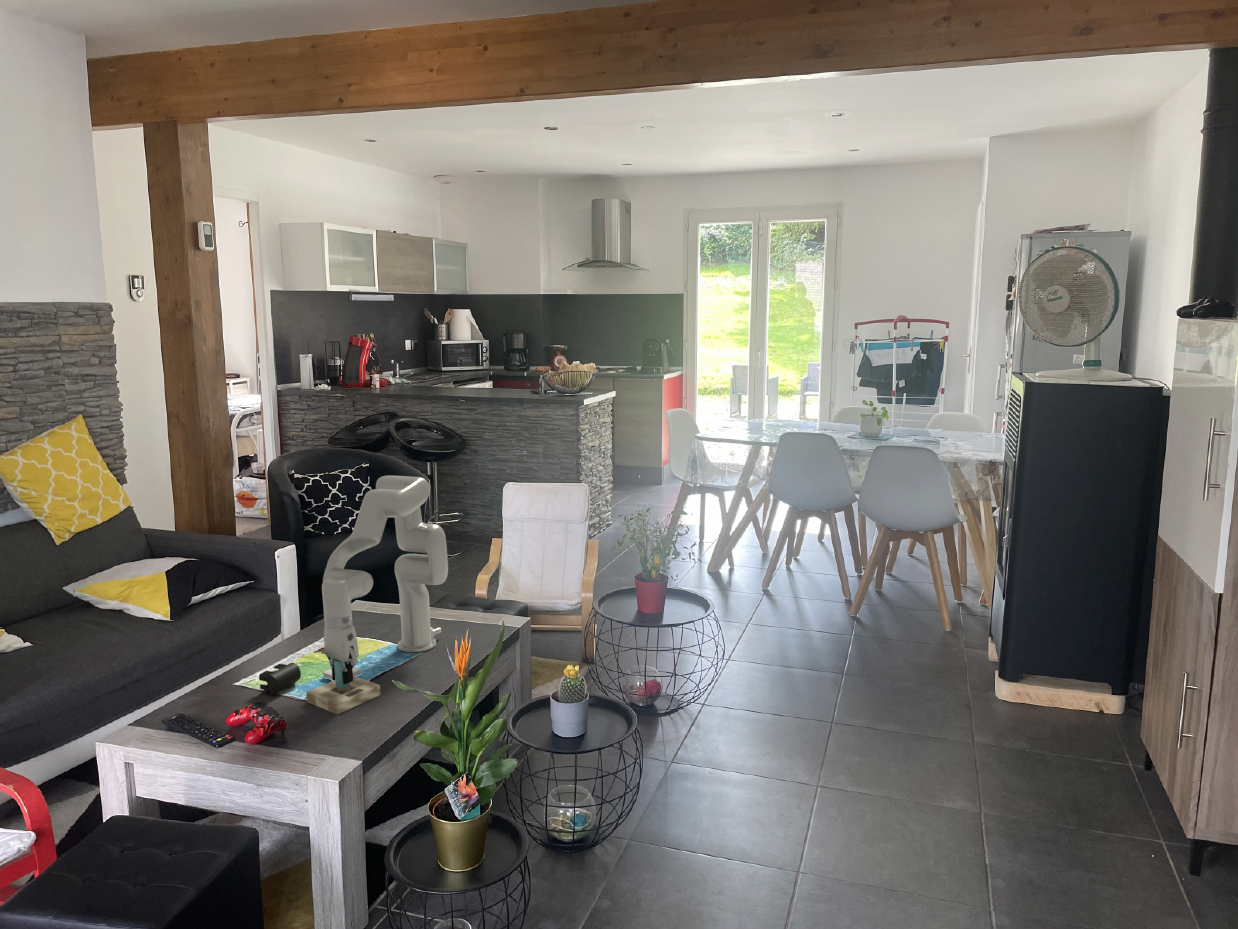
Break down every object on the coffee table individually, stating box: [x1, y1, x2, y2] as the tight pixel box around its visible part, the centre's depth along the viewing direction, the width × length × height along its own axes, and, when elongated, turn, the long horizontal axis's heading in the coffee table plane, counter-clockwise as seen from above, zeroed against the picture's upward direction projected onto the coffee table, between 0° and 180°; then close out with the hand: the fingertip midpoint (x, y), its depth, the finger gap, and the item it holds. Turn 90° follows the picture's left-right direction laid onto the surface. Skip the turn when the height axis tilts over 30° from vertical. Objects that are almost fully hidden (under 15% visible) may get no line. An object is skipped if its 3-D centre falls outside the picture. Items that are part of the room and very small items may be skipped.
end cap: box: [258, 662, 302, 697], centre depth 260 cm, size 10×7×7 cm
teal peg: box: [334, 659, 350, 689], centre depth 252 cm, size 4×4×8 cm
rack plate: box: [305, 676, 381, 715], centre depth 253 cm, size 15×14×3 cm
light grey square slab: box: [322, 666, 363, 679], centre depth 268 cm, size 8×8×2 cm
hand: (342, 680), depth 253 cm, fingers closed on teal peg, 4 cm apart
